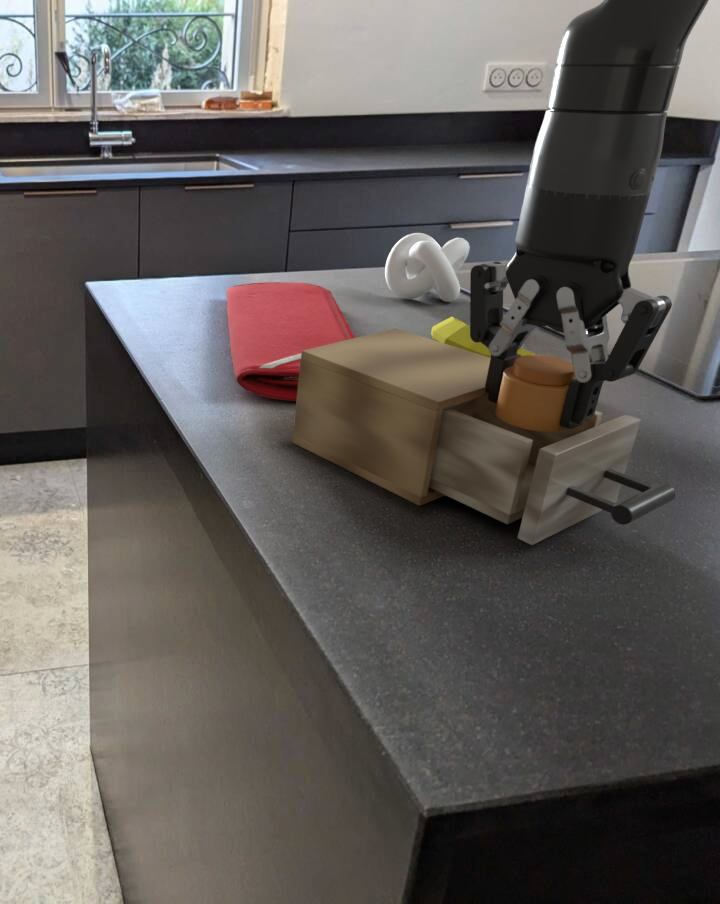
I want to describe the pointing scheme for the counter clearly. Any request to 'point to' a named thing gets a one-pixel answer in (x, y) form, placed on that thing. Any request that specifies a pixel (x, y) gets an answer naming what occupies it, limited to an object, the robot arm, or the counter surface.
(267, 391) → the dish drying mat
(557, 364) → the orange lidded jar
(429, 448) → the cabinet
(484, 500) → the drawer
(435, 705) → the counter surface
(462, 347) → the banana
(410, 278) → the white knot sculpture
